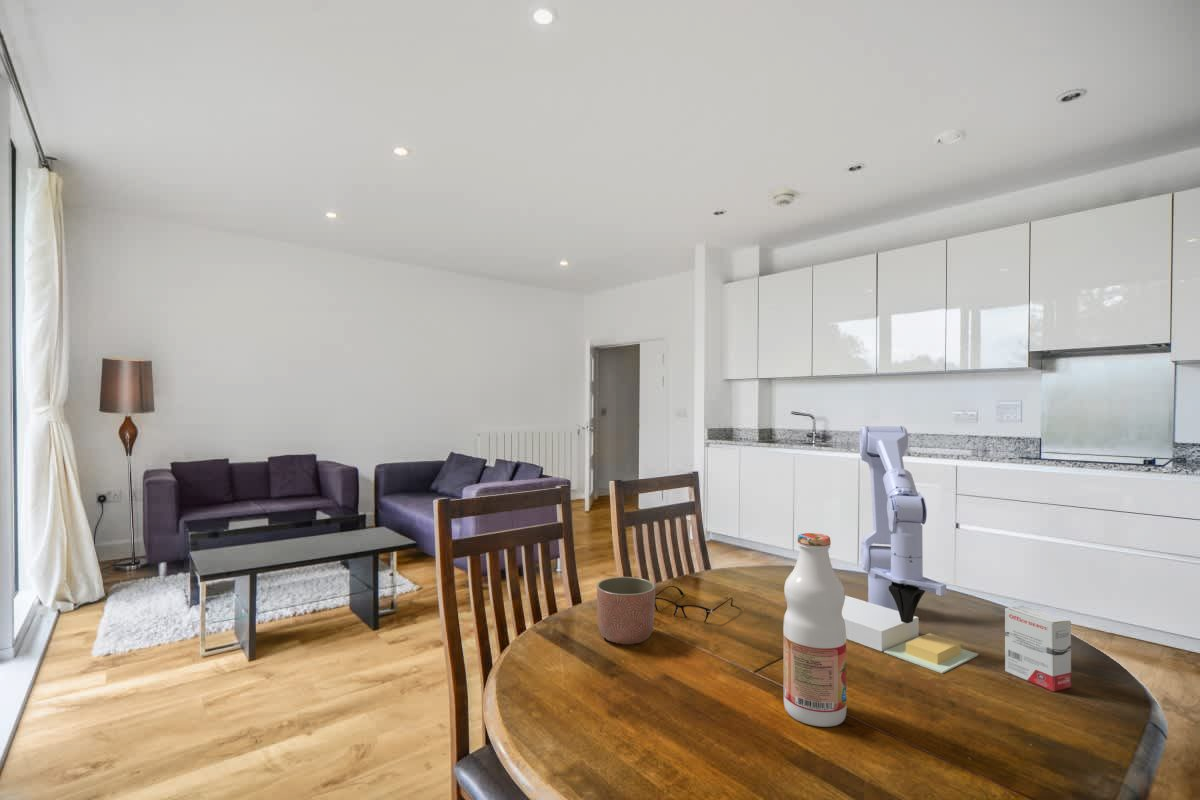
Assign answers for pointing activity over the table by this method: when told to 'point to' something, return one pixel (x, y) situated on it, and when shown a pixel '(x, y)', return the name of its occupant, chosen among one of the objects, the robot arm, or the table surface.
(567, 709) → the table surface
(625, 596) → the planter
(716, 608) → the eyeglasses
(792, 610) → the fruit juice
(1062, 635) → the ink box
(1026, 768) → the table surface
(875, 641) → the white box
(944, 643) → the yellow rectangular block
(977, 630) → the table surface
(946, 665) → the mat
